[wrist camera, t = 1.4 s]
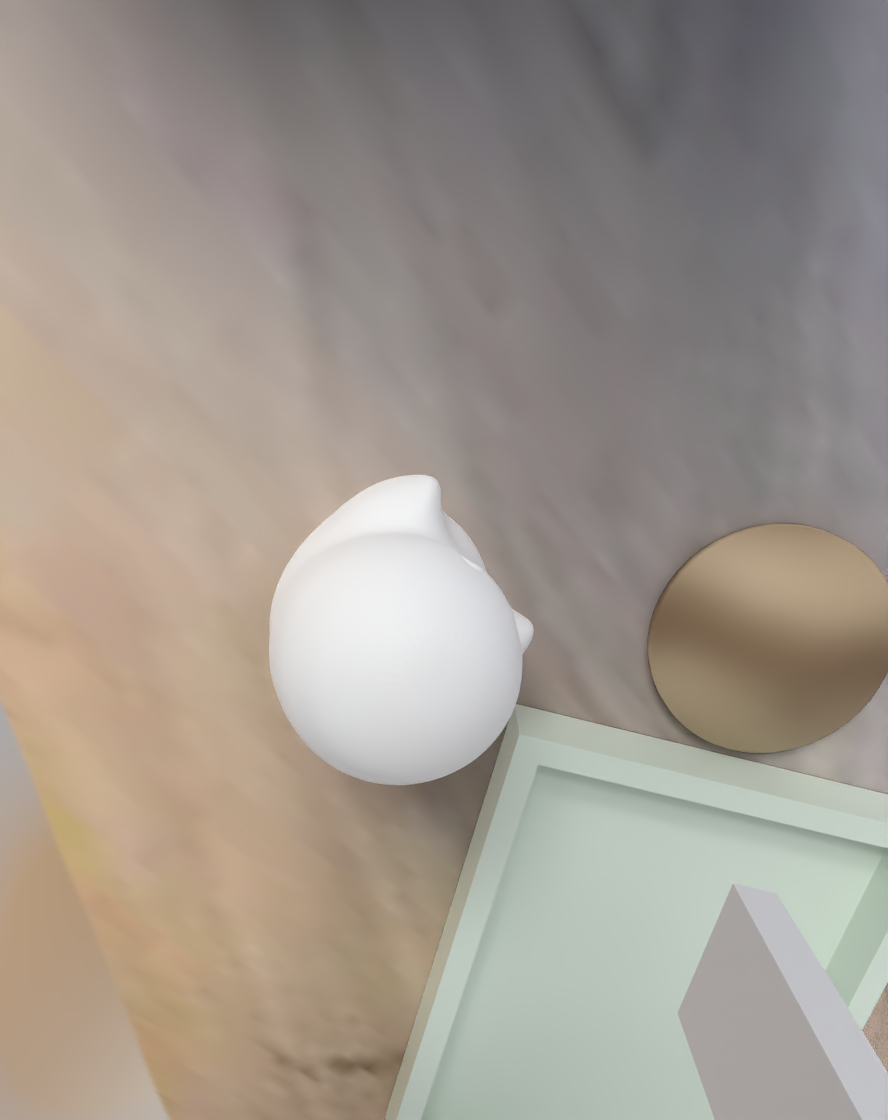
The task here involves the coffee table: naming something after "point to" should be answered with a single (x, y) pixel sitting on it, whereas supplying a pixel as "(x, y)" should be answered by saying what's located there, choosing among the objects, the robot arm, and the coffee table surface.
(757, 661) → the metal coaster
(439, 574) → the figurine
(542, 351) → the coffee table surface
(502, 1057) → the tray
